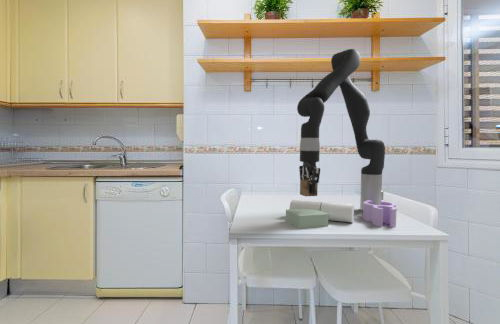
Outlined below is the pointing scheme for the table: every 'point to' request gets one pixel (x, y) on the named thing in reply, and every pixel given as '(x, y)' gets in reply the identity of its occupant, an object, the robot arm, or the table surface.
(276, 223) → the table surface
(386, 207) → the clip
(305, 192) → the walnut block
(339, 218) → the cylindrical container
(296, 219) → the green box
